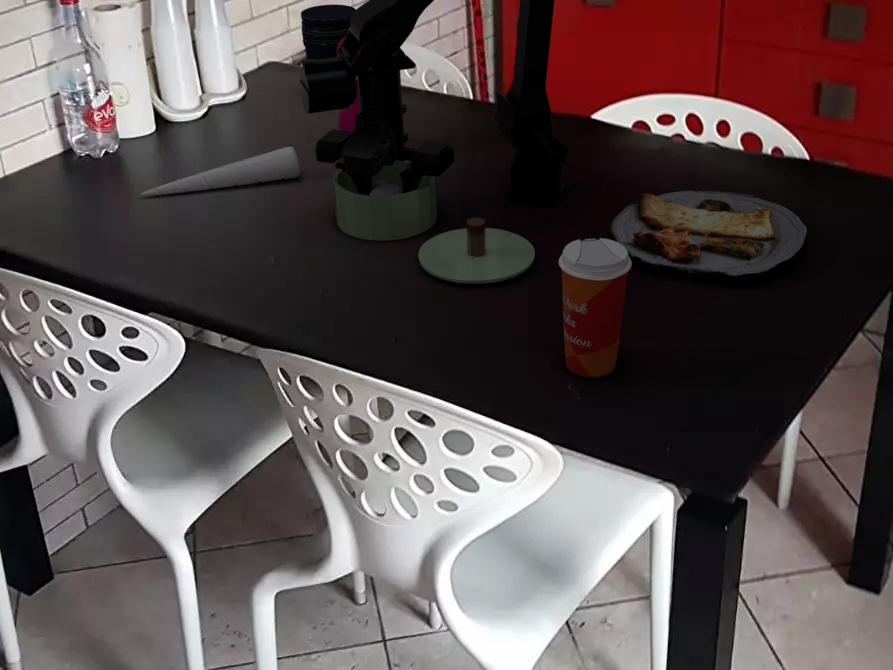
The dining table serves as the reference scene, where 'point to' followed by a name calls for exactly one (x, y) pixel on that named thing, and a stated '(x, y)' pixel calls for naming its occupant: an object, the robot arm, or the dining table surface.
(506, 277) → the lid
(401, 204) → the squat sage green cylinder
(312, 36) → the storage jar
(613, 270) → the paper cup
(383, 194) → the garlic
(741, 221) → the food plate
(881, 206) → the dining table surface
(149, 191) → the unicorn horn
